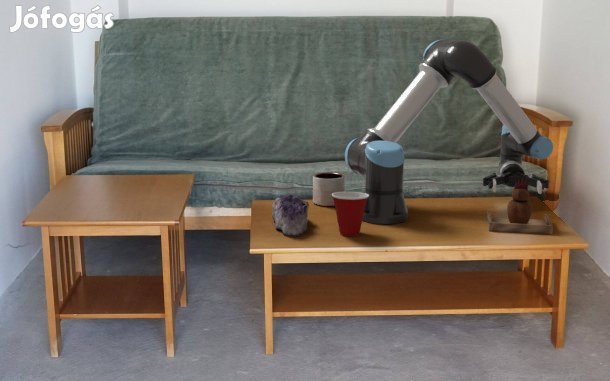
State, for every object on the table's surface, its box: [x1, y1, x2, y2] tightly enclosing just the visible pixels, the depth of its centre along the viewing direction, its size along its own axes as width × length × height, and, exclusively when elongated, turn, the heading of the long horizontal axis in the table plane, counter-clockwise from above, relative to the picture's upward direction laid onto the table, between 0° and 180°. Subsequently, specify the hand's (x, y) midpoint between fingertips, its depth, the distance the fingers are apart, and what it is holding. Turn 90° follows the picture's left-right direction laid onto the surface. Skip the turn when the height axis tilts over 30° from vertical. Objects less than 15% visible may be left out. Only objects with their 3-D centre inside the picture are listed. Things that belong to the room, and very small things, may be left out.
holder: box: [486, 210, 554, 235], centre depth 208 cm, size 18×13×2 cm
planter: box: [312, 171, 346, 207], centre depth 235 cm, size 11×11×10 cm
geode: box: [271, 194, 310, 238], centre depth 208 cm, size 20×12×10 cm, turn 8°
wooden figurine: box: [506, 175, 533, 224], centre depth 206 cm, size 7×6×15 cm
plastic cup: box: [332, 191, 369, 237], centre depth 201 cm, size 11×11×12 cm
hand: (517, 188), depth 216 cm, fingers open, 13 cm apart
